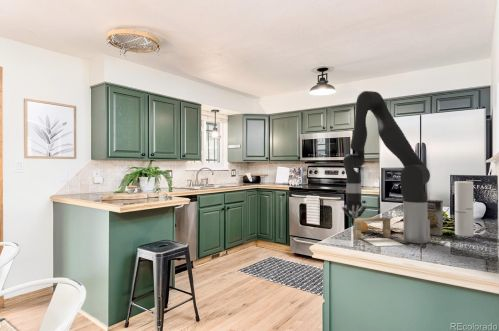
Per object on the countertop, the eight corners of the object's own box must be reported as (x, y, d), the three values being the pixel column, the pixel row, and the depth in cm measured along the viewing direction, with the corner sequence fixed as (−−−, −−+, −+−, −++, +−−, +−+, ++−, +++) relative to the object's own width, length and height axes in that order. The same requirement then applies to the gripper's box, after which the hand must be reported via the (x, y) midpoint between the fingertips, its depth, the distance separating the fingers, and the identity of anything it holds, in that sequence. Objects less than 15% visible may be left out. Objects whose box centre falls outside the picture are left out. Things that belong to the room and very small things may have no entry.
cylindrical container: (476, 236, 138) (476, 182, 138) (459, 236, 139) (458, 182, 139) (468, 233, 145) (468, 181, 145) (452, 232, 146) (451, 181, 146)
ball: (365, 230, 152) (365, 220, 152) (370, 233, 147) (370, 222, 147) (355, 231, 152) (355, 221, 152) (360, 233, 147) (360, 223, 147)
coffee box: (418, 233, 146) (418, 199, 146) (421, 230, 151) (421, 198, 151) (441, 235, 140) (440, 201, 140) (443, 233, 145) (442, 199, 145)
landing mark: (388, 238, 136) (388, 238, 136) (404, 245, 124) (404, 245, 124) (362, 239, 135) (362, 238, 135) (376, 246, 123) (376, 246, 123)
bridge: (353, 237, 139) (353, 218, 139) (386, 236, 141) (386, 217, 141) (356, 238, 136) (356, 219, 136) (390, 237, 138) (390, 218, 138)
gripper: (362, 191, 163) (362, 223, 163) (338, 191, 162) (338, 223, 162) (369, 192, 156) (369, 225, 156) (344, 192, 154) (344, 226, 154)
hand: (353, 224), depth 159 cm, fingers closed
